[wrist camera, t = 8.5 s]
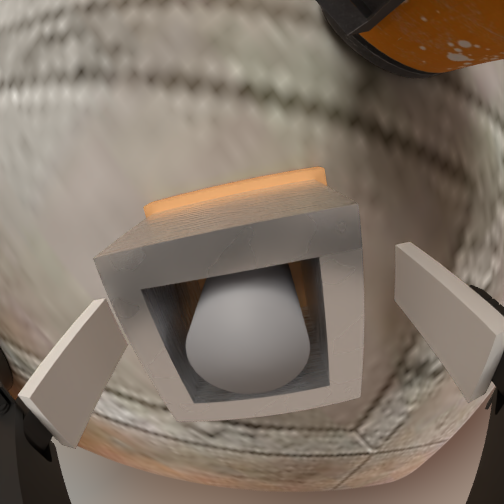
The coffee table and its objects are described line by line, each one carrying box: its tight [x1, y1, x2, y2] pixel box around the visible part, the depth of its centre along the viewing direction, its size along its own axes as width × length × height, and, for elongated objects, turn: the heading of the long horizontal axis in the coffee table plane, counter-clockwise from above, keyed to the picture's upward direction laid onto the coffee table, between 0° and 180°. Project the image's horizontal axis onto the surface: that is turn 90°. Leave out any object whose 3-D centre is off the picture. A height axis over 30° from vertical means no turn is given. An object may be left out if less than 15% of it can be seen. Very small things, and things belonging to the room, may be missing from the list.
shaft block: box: [143, 167, 327, 394], centre depth 12 cm, size 9×9×8 cm
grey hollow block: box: [93, 179, 364, 422], centre depth 12 cm, size 8×8×6 cm
